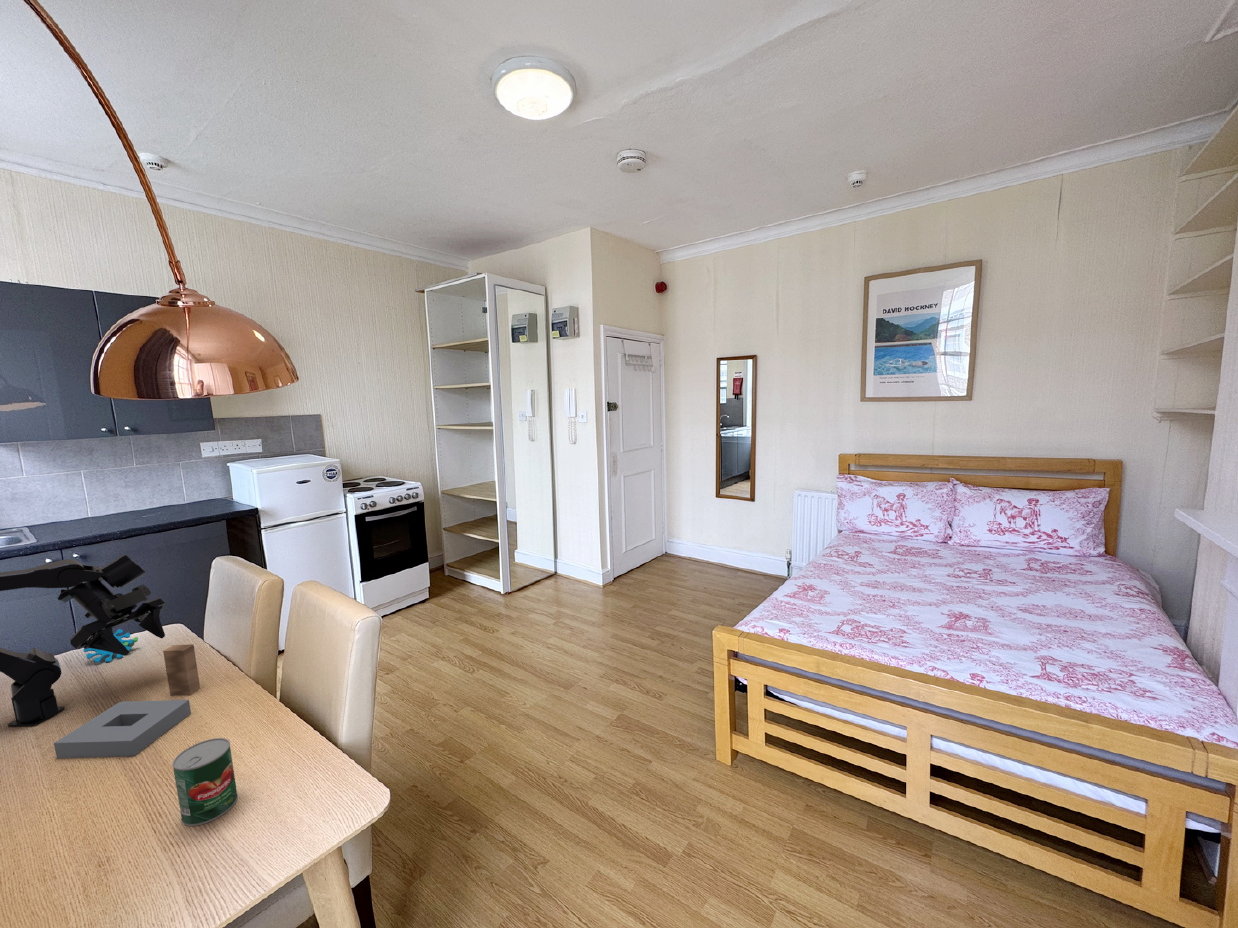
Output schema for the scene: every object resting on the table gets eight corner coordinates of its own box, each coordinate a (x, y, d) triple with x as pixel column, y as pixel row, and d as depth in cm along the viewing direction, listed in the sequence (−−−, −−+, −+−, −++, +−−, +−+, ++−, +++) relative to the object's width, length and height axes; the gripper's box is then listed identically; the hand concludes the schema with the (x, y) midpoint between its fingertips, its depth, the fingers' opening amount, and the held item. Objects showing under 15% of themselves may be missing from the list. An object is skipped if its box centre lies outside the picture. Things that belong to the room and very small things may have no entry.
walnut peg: (170, 695, 124) (163, 650, 123) (180, 688, 127) (173, 644, 126) (190, 695, 124) (183, 650, 123) (200, 688, 127) (193, 644, 126)
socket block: (56, 758, 103) (53, 742, 102) (122, 715, 117) (120, 701, 116) (134, 756, 103) (131, 740, 103) (191, 713, 117) (188, 699, 116)
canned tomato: (208, 790, 93) (199, 737, 92) (248, 790, 93) (241, 737, 92) (168, 826, 86) (159, 769, 84) (213, 826, 85) (204, 769, 84)
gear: (82, 664, 137) (84, 631, 142) (82, 674, 140) (84, 641, 145) (138, 654, 145) (138, 623, 150) (137, 663, 148) (137, 632, 153)
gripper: (77, 592, 112) (129, 640, 113) (156, 567, 131) (199, 609, 132) (47, 625, 113) (98, 672, 114) (129, 595, 132) (172, 636, 133)
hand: (146, 645), depth 123 cm, fingers open, 9 cm apart
